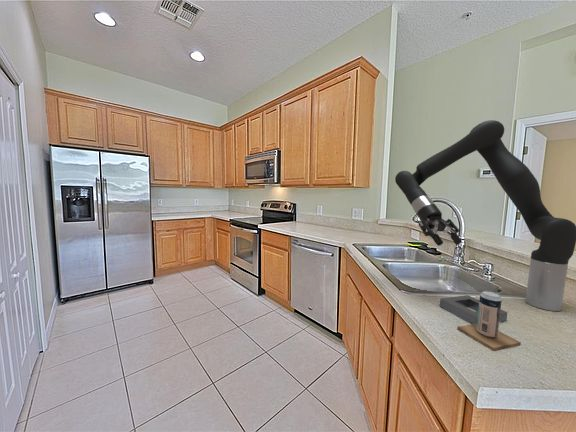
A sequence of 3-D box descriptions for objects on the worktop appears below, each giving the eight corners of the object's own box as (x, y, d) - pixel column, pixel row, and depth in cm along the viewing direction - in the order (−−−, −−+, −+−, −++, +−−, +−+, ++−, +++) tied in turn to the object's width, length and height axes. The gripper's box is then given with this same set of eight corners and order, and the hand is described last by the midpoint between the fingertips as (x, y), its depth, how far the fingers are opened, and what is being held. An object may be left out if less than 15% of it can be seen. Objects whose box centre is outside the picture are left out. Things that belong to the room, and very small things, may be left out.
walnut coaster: (482, 325, 74) (482, 322, 74) (520, 345, 64) (520, 342, 64) (457, 329, 71) (457, 326, 71) (493, 350, 62) (493, 347, 62)
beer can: (501, 339, 65) (506, 298, 64) (482, 337, 66) (486, 296, 65) (490, 330, 70) (495, 291, 69) (472, 327, 71) (476, 289, 69)
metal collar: (467, 302, 89) (467, 295, 89) (506, 321, 76) (507, 312, 76) (439, 306, 86) (440, 298, 85) (476, 326, 73) (477, 316, 73)
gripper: (417, 203, 89) (442, 238, 79) (446, 203, 93) (473, 237, 83) (405, 215, 94) (427, 250, 85) (433, 215, 98) (457, 248, 89)
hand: (450, 244), depth 84 cm, fingers open, 8 cm apart
